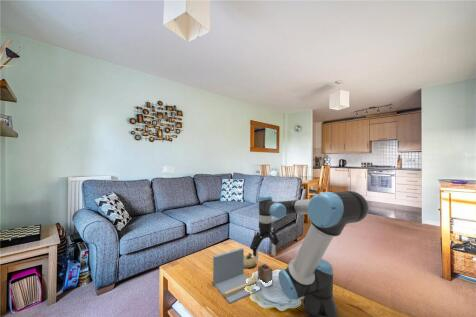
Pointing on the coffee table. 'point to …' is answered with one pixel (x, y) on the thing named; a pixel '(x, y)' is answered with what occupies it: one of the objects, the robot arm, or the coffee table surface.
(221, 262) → the bracket
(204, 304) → the coffee table surface
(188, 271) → the coffee table surface
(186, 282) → the coffee table surface
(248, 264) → the acorn cap
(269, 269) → the cabinet block
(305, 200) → the robot arm
